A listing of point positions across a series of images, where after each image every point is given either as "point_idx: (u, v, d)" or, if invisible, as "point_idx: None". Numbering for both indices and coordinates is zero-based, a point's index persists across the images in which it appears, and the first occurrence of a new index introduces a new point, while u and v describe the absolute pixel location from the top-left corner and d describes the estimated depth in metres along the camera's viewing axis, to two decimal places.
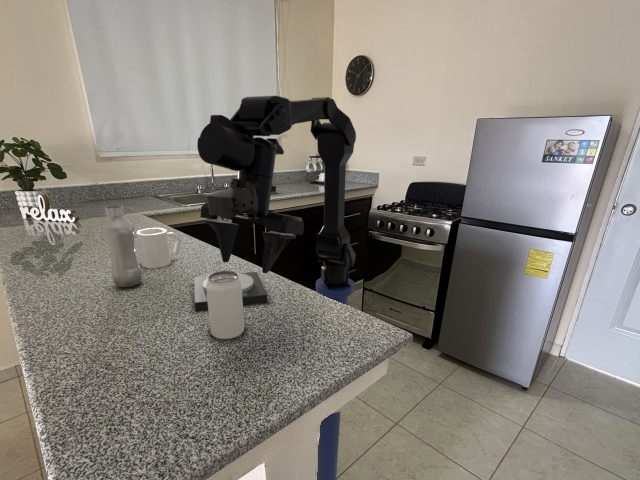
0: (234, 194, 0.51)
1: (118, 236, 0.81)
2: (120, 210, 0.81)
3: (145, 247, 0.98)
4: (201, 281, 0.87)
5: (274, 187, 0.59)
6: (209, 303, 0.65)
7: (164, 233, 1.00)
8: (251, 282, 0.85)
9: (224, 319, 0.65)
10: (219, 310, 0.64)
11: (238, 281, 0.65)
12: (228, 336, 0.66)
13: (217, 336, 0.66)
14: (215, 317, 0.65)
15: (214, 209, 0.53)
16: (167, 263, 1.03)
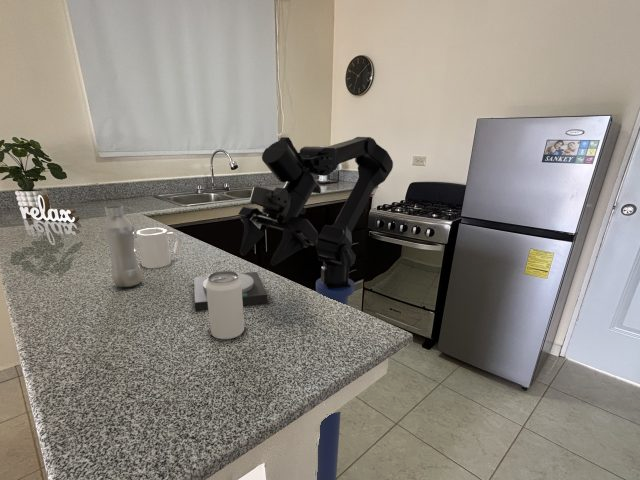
0: (275, 190, 0.65)
1: (117, 236, 0.81)
2: (120, 210, 0.81)
3: (145, 247, 0.98)
4: (201, 281, 0.87)
5: (304, 210, 0.73)
6: (209, 303, 0.65)
7: (164, 233, 1.00)
8: (251, 282, 0.85)
9: (224, 319, 0.65)
10: (219, 310, 0.64)
11: (238, 281, 0.65)
12: (228, 336, 0.66)
13: (217, 336, 0.66)
14: (215, 317, 0.65)
15: (255, 197, 0.66)
16: (167, 263, 1.03)
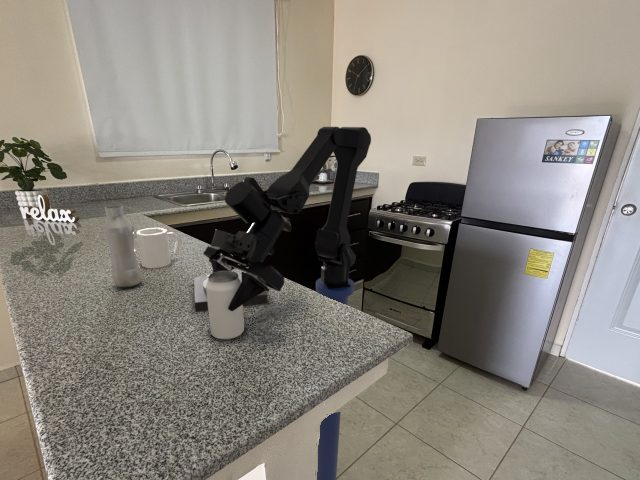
0: (237, 234, 0.61)
1: (117, 236, 0.81)
2: (120, 210, 0.81)
3: (145, 247, 0.98)
4: (201, 281, 0.87)
5: (272, 250, 0.70)
6: (209, 303, 0.65)
7: (164, 233, 1.00)
8: None
9: (223, 319, 0.65)
10: (219, 310, 0.64)
11: (238, 281, 0.65)
12: (228, 336, 0.66)
13: (217, 336, 0.66)
14: (215, 317, 0.65)
15: (216, 241, 0.62)
16: (167, 263, 1.03)
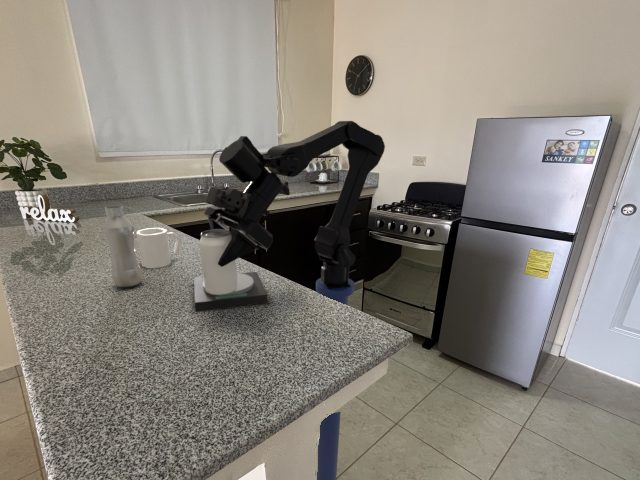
0: (227, 190, 0.63)
1: (118, 236, 0.81)
2: (120, 210, 0.81)
3: (145, 247, 0.98)
4: (201, 281, 0.87)
5: (267, 212, 0.71)
6: (201, 258, 0.67)
7: (164, 233, 1.00)
8: (251, 282, 0.85)
9: (214, 274, 0.67)
10: (209, 265, 0.67)
11: (229, 238, 0.67)
12: (219, 291, 0.69)
13: (209, 291, 0.69)
14: (207, 272, 0.67)
15: (209, 197, 0.65)
16: (167, 263, 1.03)
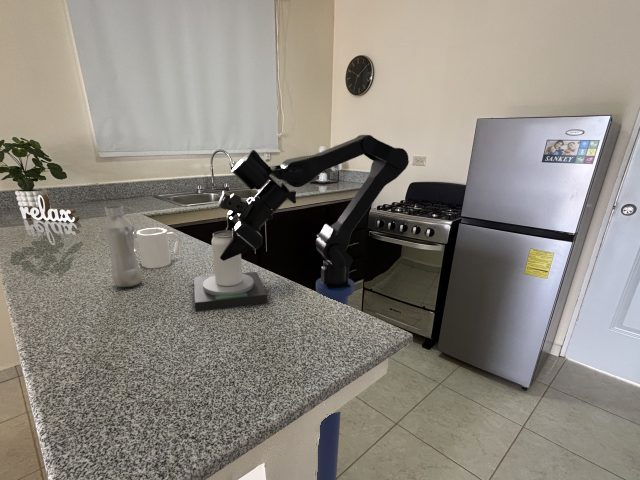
0: (231, 195, 0.75)
1: (117, 236, 0.81)
2: (120, 210, 0.81)
3: (145, 247, 0.98)
4: (201, 281, 0.87)
5: (271, 216, 0.79)
6: None
7: (164, 233, 1.00)
8: (251, 282, 0.85)
9: (219, 267, 0.80)
10: (216, 259, 0.80)
11: None
12: (222, 283, 0.81)
13: (216, 281, 0.83)
14: (214, 265, 0.81)
15: (220, 200, 0.77)
16: (167, 263, 1.03)
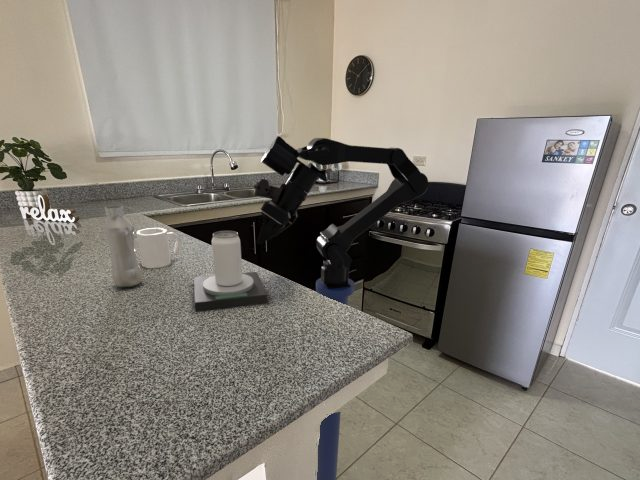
0: None
1: (117, 236, 0.81)
2: (120, 210, 0.81)
3: (145, 247, 0.98)
4: (201, 281, 0.87)
5: (302, 196, 0.80)
6: None
7: (164, 233, 1.00)
8: (251, 282, 0.85)
9: (219, 267, 0.80)
10: (216, 259, 0.80)
11: (234, 239, 0.79)
12: (222, 283, 0.81)
13: (216, 281, 0.83)
14: (214, 265, 0.81)
15: None
16: (167, 263, 1.03)
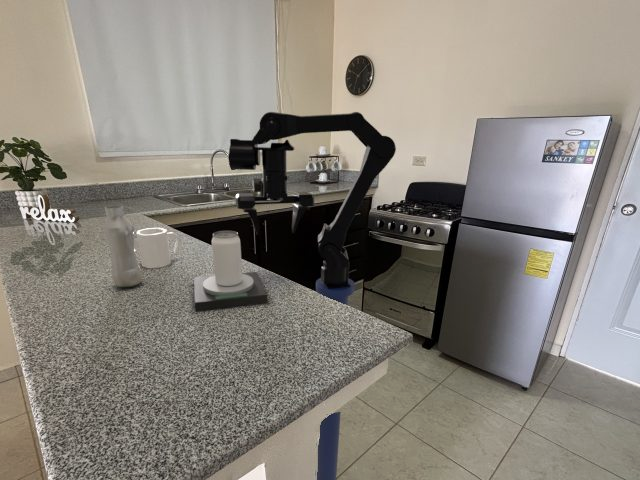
0: None
1: (117, 236, 0.81)
2: (120, 210, 0.81)
3: (145, 247, 0.98)
4: (201, 281, 0.87)
5: (266, 177, 0.81)
6: None
7: (164, 233, 1.00)
8: (251, 282, 0.85)
9: (219, 267, 0.80)
10: (216, 259, 0.80)
11: (234, 239, 0.79)
12: (222, 283, 0.81)
13: (216, 281, 0.83)
14: (214, 265, 0.81)
15: None
16: (167, 263, 1.03)
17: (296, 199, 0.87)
